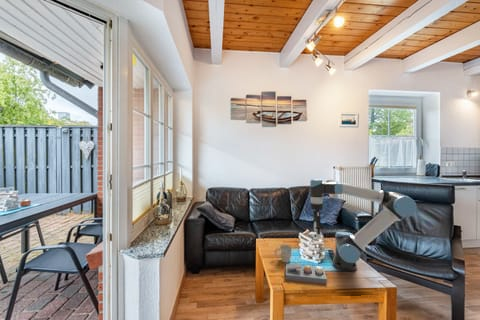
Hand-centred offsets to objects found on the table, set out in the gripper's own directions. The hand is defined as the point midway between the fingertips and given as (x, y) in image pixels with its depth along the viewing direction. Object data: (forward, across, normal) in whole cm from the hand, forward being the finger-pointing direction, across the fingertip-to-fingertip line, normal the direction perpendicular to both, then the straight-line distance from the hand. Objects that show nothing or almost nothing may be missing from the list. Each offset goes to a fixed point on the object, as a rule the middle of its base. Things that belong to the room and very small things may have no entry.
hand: (317, 235), depth 150 cm
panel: (+24, +7, -9) cm, 27 cm away
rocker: (+19, +7, -15) cm, 25 cm away
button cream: (+22, +7, 0) cm, 23 cm away
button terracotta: (+22, +7, -7) cm, 24 cm away
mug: (+24, -12, -23) cm, 36 cm away
